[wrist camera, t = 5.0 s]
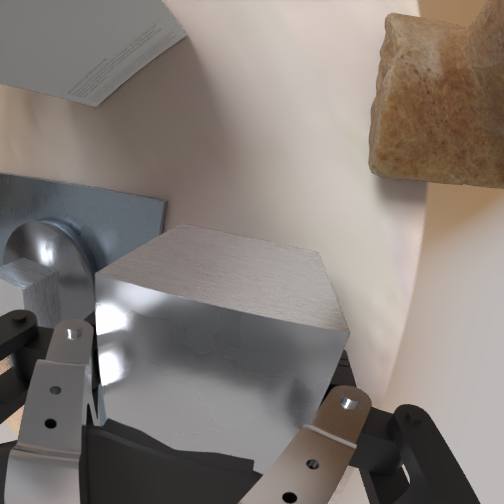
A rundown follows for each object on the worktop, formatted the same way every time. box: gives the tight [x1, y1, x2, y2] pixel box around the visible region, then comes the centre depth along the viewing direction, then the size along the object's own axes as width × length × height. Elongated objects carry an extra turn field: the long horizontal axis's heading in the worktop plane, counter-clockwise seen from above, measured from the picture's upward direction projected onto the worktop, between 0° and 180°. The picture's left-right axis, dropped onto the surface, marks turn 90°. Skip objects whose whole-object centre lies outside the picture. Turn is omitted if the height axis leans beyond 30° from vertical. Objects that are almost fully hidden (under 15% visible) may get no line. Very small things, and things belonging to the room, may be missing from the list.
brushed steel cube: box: [95, 223, 350, 475], centre depth 11 cm, size 6×6×7 cm
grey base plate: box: [0, 172, 167, 426], centre depth 17 cm, size 22×16×6 cm
